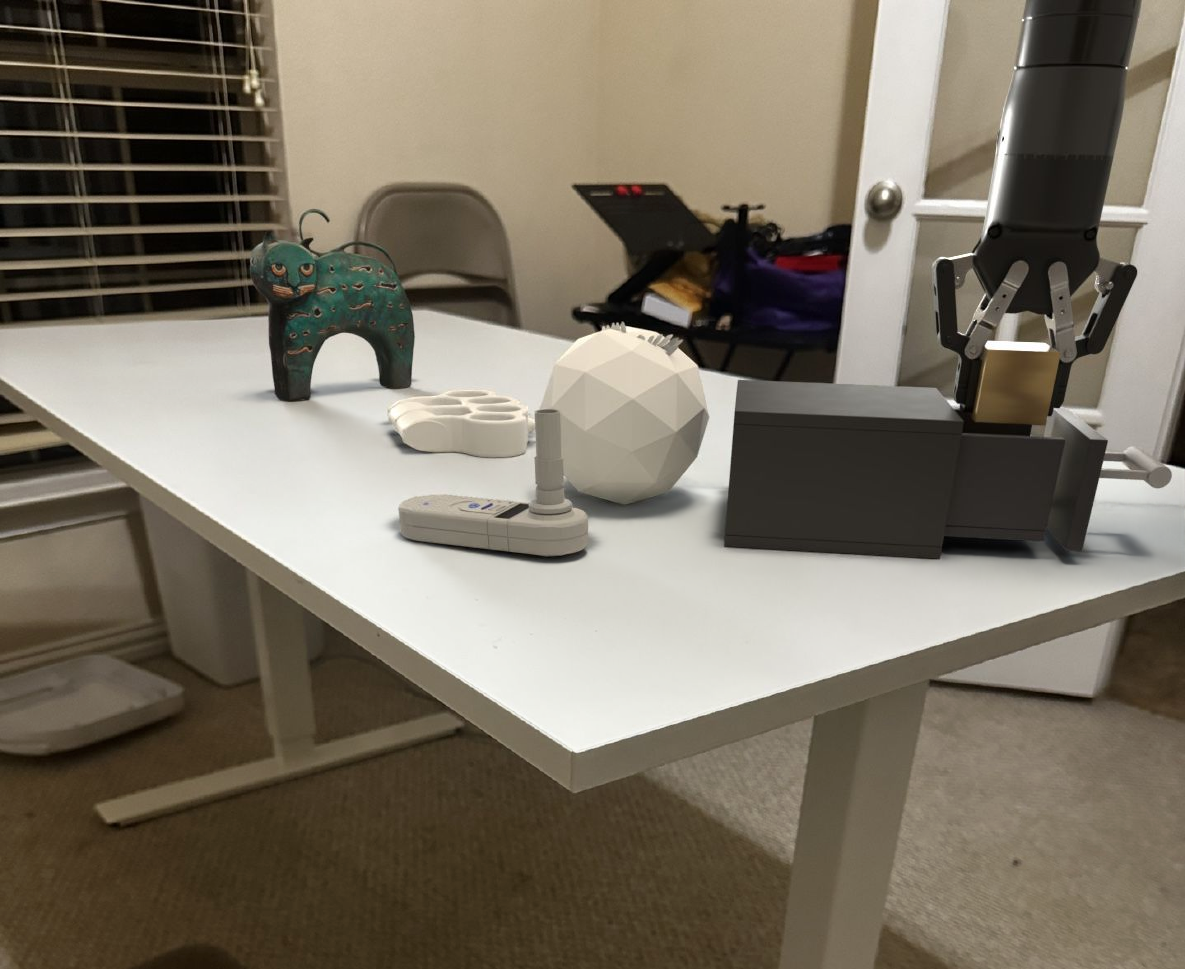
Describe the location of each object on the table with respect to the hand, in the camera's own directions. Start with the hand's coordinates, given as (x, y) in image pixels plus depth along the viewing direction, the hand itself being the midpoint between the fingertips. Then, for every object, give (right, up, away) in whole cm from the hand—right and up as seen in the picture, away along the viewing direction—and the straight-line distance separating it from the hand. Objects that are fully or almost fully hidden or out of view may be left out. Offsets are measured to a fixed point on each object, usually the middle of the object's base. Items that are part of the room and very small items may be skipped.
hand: (1005, 411), depth 84 cm
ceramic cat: (-61, +20, +54) cm, 84 cm away
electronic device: (-38, -10, 0) cm, 39 cm away
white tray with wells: (-43, +8, +32) cm, 55 cm away
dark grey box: (-12, -7, +6) cm, 15 cm away
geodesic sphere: (-28, -3, +13) cm, 31 cm away
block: (0, 0, 0) cm, 0 cm away
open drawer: (+1, -7, +4) cm, 9 cm away
